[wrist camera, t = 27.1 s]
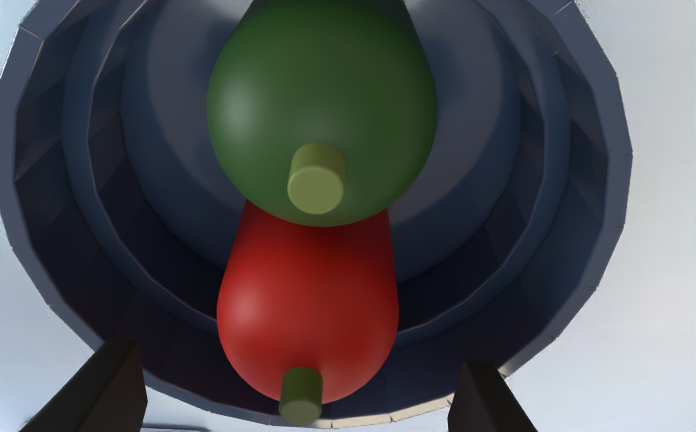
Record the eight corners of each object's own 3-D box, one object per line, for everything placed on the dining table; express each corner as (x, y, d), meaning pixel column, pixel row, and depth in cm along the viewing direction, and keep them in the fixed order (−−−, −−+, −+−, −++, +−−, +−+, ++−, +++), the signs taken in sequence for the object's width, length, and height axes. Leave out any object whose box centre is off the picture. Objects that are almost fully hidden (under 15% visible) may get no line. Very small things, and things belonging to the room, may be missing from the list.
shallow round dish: (494, 321, 20) (531, 440, 16) (121, 297, 20) (61, 415, 16) (627, -98, 13) (758, -76, 9) (39, -160, 12) (-118, -166, 8)
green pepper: (452, 34, 14) (527, 162, 8) (348, 162, 16) (348, 338, 10) (304, -85, 13) (266, -32, 7) (209, 72, 15) (116, 219, 9)
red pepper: (327, 300, 19) (318, 499, 13) (215, 230, 18) (147, 421, 12) (419, 215, 17) (456, 404, 11) (302, 128, 16) (275, 295, 10)
